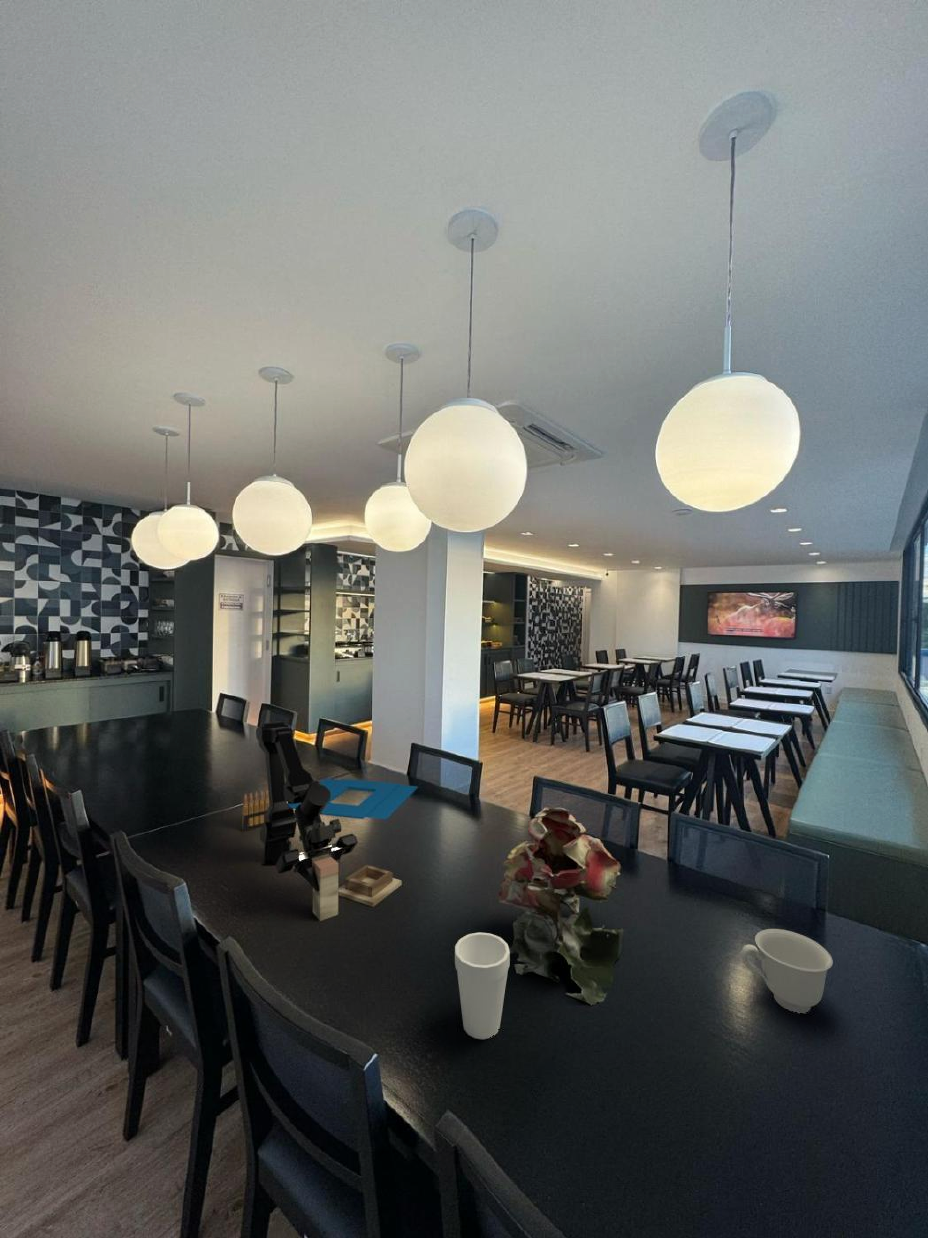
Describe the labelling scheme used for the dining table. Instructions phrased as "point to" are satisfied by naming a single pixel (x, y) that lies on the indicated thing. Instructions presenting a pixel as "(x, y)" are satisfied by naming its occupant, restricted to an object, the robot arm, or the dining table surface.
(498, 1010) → the foam cup
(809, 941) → the teacup
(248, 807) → the ammunition clip
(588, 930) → the rose bouquet
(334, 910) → the birch post
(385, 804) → the frame
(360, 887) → the socket stand
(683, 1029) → the dining table surface
